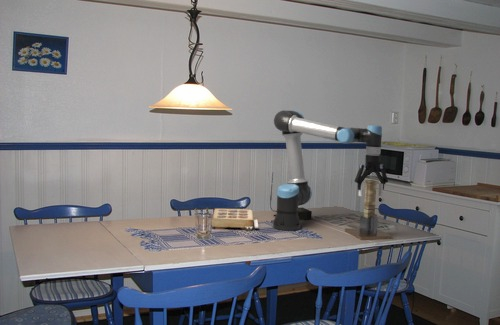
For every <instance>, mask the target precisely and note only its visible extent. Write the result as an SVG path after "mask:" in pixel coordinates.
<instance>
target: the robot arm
mask: <svg viewBox="0 0 500 325" xmlns="http://www.w3.org/2000/svg"><path fill="white" fill-rule="evenodd" d="M273 124H274V127H275V128H276V129H277V130H278V131H280V132H281V133H282V136H283V138H284V139H285V146H286V156H287V165H288V174H289V177H288V178H289V180H288V181H287V182H286V183H287V184H281V185H279V186H277V191H276V196H277V197H276V211H277V212H276V213H275V215H276V216H274V219H273V222H272V228H273V229H276V230H279V231H280V230H281V231H297V230H300V229H301V222H300V221H301V220H299V217H298V208H299V207H300V206H302V205H306V204H307V203H308V202H309V201H311V198H312V195H313V191H312V188H311V187H310V186H309V183H308V180H307V179H306V177H305V170H304V159H303V149H302V138H301V136H302V135H303V134H304V135H309V136H313V137H317V138H323V139H327V140H332V141H335V142H340V143H341V144H345V145H347V144H351V143H352V144H353V143H365V144H366V146H365V148H366V149H365V154H366V155H365V158H364V159H365V161H364V162H365V164H361V163H360V164H359V169H358V171H357V174H356V176H355V179H354V183H357V190H358V195H357V196H358V197H363V189H364V184H363V183H364V180H366V178H367V177H368V175H369V174H370V173H375V175H376V178H378V181H379V184H378V196H379V197H383V192H384V191H383V190H385V185H386V184H387V183H388V182H389V180H388V175H387V171H386V165H385V164H382V163H381V164H380V162H381V150H382V139H383V133H382V132H383V127H382V126H381V125H378V124H377V125H376V124H375V125H374V124H372V125H371V124H369V125H367V127H366V128H359V127H343V126H339V125H333V124H329V123H323V122H319V121H314V120H312V119H311V120H310V119H305V117H304V115H303V114H302V113H301V112H299V111H297V110H285V109H284V110H280V111H278V112H277V113H276V114H275V115H274V117H273ZM379 169H380V170H379ZM380 172H381V173H380Z"/></svg>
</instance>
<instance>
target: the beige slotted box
mask: <svg viewBox="0 0 500 325" xmlns="http://www.w3.org/2000/svg"><path fill="white" fill-rule="evenodd" d="M253 214H254V213H253V209H250V208H249V209H244V208H216V207H214V210H213V214H212V220H211V222H212V224H211V226H212V229H213V230H226V229H227V228H231V229H235V228H240V230H245V231H253V229H259V223H258V221H259V220H258V219H254V215H253Z"/></svg>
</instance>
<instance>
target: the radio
mask: <svg viewBox="0 0 500 325" xmlns="http://www.w3.org/2000/svg"><path fill="white" fill-rule="evenodd" d="M271 175H272V176H271V182H273V179H274V178H273V177H274V173H272V174H271ZM272 190H273V185H271V186H270V197H269V202H270V203H269V206H270V209H271V211H272V212H276V213H277V210H273V208H272V205H271V204H272V195H273V194H272V193H273V192H272ZM312 213H313V212H312V211H311V210H309V209H308V208H305V207H298V217H299V221H303V220H304V221H306V220H312ZM275 216H276V214H273V217H275Z"/></svg>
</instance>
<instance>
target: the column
mask: <svg viewBox="0 0 500 325" xmlns="http://www.w3.org/2000/svg"><path fill="white" fill-rule="evenodd" d="M363 183H364V184H365V194H364V204H363V205H364V207H363V209H364V210H363V215H364V216H365V217H367V218H372V217H373V216H374V215H372V214H371V213H375V214H376V198H377V197H376V196H377V185H379V183H380V180H374V179H364V181H363Z"/></svg>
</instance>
